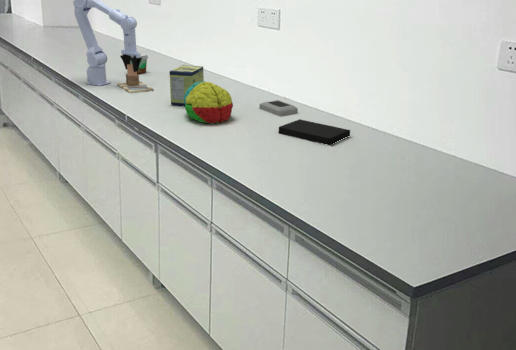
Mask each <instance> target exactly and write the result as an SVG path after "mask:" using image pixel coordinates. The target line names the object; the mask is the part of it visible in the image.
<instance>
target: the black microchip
mask: <svg viewBox="0 0 516 350" xmlns="http://www.w3.org/2000/svg"><path fill="white" fill-rule="evenodd" d="M278 134H279V135H284V136H288V137H292V138H297V139H300V140H305V141H310V142H312V143H313V142H314V143H317V142H318V143H317V144H321V143H323V144H322V145H325V144H327V145H326V146H332V145H334V144H336V143H335V142H337V141H339V140H341V139H343V138H345V137H347V136H350V137H351V129H346V128H341V127H337V126H333V125H328V124H323V123H319V122H314V121H311V120H304V119H300V118H299V119H297V120H294V121H291V122H288V123H286V124H283V125H280V126H278ZM343 140H344V139H343ZM341 141H342V140H341ZM339 142H340V141H339ZM333 143H334V144H333ZM337 143H338V142H337ZM331 144H332V145H331Z"/></svg>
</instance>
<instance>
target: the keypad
mask: <svg viewBox="0 0 516 350" xmlns="http://www.w3.org/2000/svg"><path fill="white" fill-rule="evenodd" d="M259 110H261V111H264V112H267V113H269V114H272V115H275V116H278V117H285V116H289V115H290V114H291V115H294V113H296V114H298V113H299V112H298V111H299V110H298V107H297V106H295V105H293V104H290V103H288V102H285V101H281V100H278V99H277V100H271V101H264V102H262V103H259ZM291 115H290V116H291Z"/></svg>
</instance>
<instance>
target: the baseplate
mask: <svg viewBox="0 0 516 350" xmlns="http://www.w3.org/2000/svg"><path fill="white" fill-rule="evenodd" d="M139 76H140V74H139V75H137V76H128V73H127V74H125V82H117V83H116V85H117V86H118V87H120V88H121V89H123V91H125V92H127V93H128V94H133V93H134V94H135V93H145V92H153V91H154V88H153V87H151V86H149V85H148V84H146V83H144V82H142V81H140V77H139Z"/></svg>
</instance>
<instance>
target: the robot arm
mask: <svg viewBox="0 0 516 350" xmlns="http://www.w3.org/2000/svg"><path fill="white" fill-rule="evenodd" d="M72 3H73V6H74V17H75V19H76V22H77V24H78V28H79V29H80V32H81V35H82V37H83V40H84V43H85V45H86V48H87V50H86V53H85V55H86V58H87V59H86V60H87V64H88V67H87V69H86V77H87V78H86V80H87V82H86V84H88V85H93V86H97V87H98V86H99V87H100V86H104V85H108V84H111V81H107V72H106V71H107V70H106V63H107V62H108V56H107V54H106V53H105V51H104V49H103V48H102V47H100V46H99V44H98V41H97V39H96V35H95V34H94V31H93V28H92V25H91V23H90V19H89V18H88V14H89V12H90V10H91V9H93V8H95V9H97V10H99V11H101V12H102V13H104V14H106V15H108V17H109V19H110V20H111V21H113V22H114V23H116V25H119V26H120V28H121V29H122V33H123V44H124V49H121V52H120V53H121V55H120V56H119V58H121V60H122V62H123V65H124V68H125V70H126V71H127V64H130V61H132V65H133V70H134V72H138V70H139V65H140V62H141V60H142V57H141V56H142V55H141V53H140V52H138V51H137V37H136V28H137V26H138V22H137V20H136V19H135V18H134V17H133V16H129V15H128V14H125V13H123V12H121V9H119V8H113V9H112V8H111V7H110V6H108V5H107V4H105V3H104V2H103V1H101V0H73V1H72ZM131 56H133V57H132V58H131Z"/></svg>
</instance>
